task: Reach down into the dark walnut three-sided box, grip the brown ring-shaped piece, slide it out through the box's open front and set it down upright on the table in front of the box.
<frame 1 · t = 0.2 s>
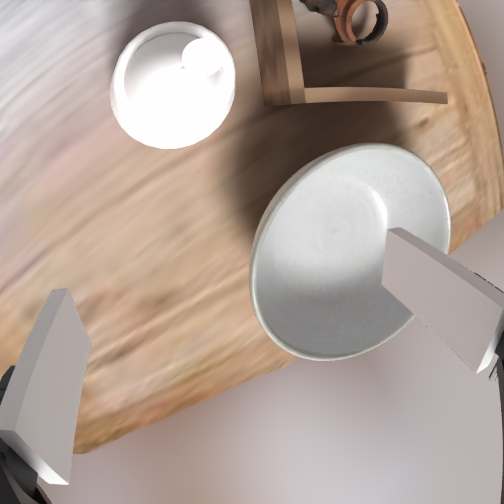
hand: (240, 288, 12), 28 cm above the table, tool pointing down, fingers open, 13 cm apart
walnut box: (336, 14, 32), on the table
honey pot: (172, 91, 33), on the table
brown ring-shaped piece: (328, 13, 32), on the table
decorative bowl: (322, 228, 44), on the table
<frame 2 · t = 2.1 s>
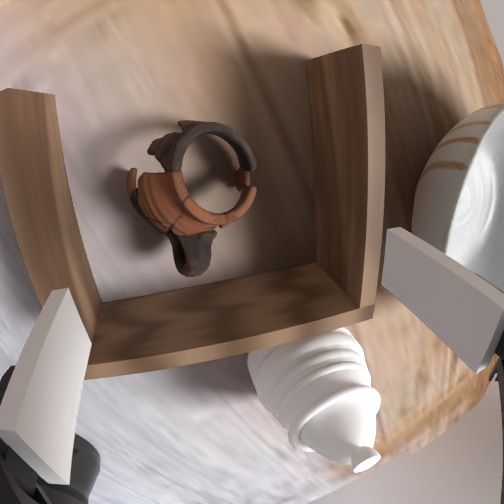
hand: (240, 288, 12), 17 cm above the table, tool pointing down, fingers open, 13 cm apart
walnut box: (194, 181, 27), on the table
honey pot: (297, 351, 38), on the table
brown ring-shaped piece: (185, 189, 27), on the table
decorative bowl: (445, 196, 35), on the table
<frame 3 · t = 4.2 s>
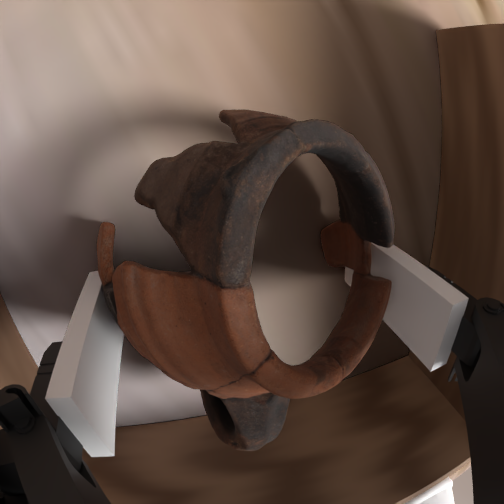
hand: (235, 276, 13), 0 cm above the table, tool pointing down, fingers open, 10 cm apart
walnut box: (233, 251, 13), on the table
honey pot: (357, 448, 24), on the table
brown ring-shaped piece: (222, 259, 14), on the table, touching gripper
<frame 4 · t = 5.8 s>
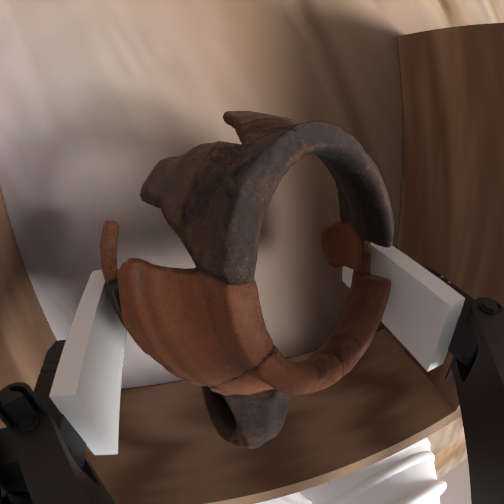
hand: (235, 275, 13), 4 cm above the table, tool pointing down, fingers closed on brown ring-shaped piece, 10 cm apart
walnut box: (220, 226, 16), on the table
honey pot: (343, 423, 27), on the table
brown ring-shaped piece: (223, 258, 14), point 3 cm above the table, touching gripper
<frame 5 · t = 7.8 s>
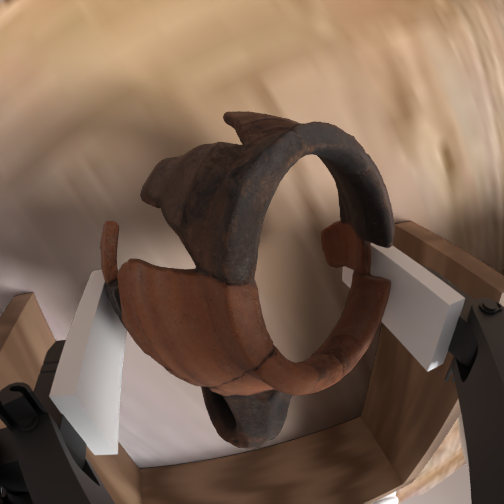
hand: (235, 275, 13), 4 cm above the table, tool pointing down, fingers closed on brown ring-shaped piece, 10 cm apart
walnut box: (240, 384, 21), on the table
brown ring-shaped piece: (223, 258, 14), point 3 cm above the table, touching gripper
when the fingers open (1 cm above the table, at t = 10.6 s): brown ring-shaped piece stays where it is, on the table.
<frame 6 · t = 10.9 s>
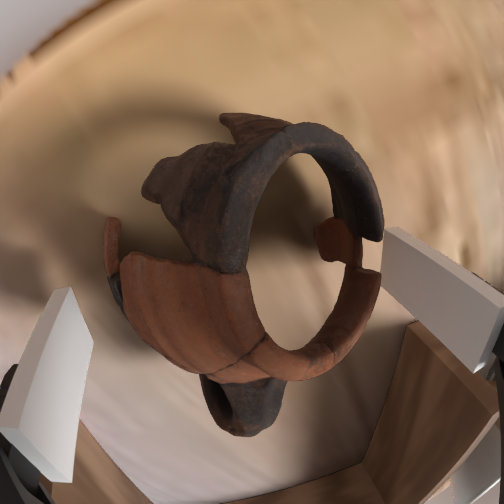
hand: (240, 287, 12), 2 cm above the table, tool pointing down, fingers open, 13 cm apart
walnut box: (257, 454, 21), on the table
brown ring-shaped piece: (221, 253, 14), on the table
decorative bowl: (491, 371, 29), on the table
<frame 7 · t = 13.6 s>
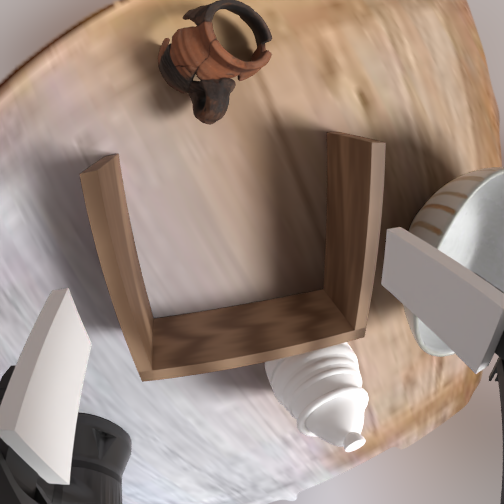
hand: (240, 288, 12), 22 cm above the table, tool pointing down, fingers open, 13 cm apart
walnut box: (234, 229, 35), on the table
honey pot: (305, 356, 47), on the table
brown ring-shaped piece: (208, 65, 27), on the table
decorative bowl: (434, 235, 43), on the table
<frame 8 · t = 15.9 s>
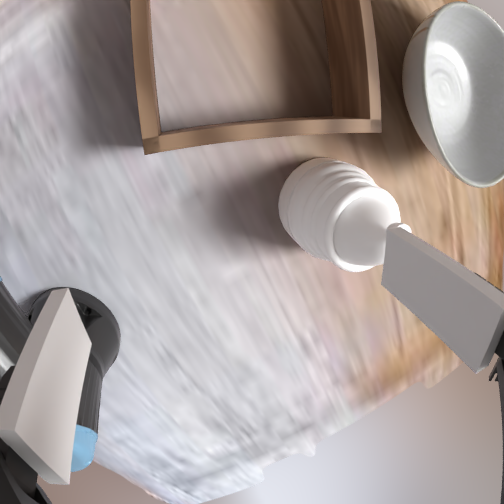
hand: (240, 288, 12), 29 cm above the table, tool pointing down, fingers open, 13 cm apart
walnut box: (245, 43, 33), on the table
honey pot: (321, 202, 44), on the table
decorative bowl: (430, 90, 40), on the table
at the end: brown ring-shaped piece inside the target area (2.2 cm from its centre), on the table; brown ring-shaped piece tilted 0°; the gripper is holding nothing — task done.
